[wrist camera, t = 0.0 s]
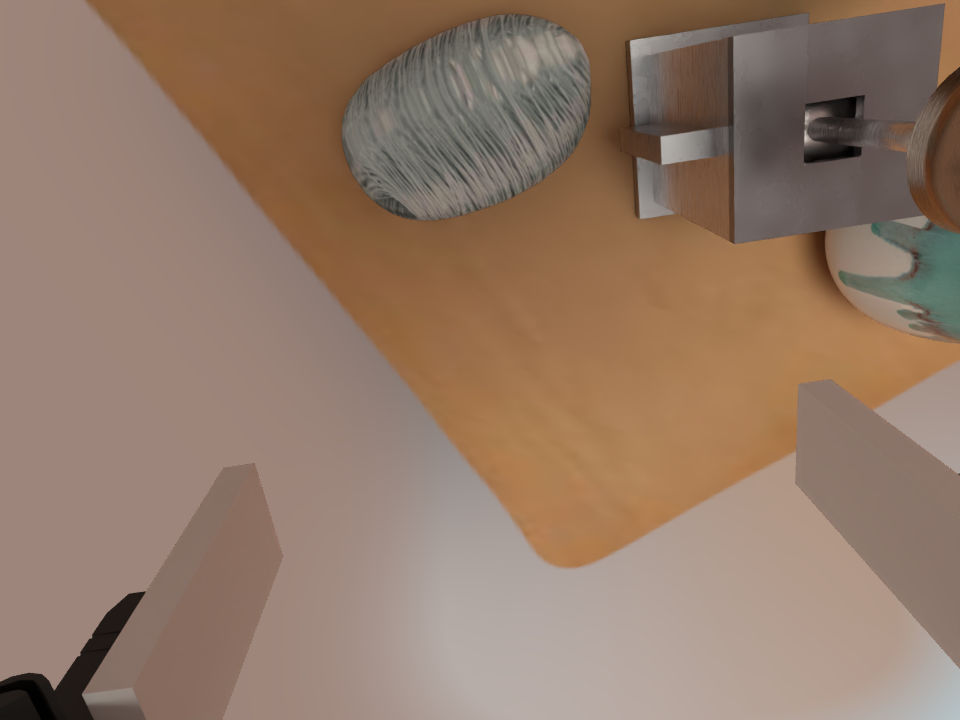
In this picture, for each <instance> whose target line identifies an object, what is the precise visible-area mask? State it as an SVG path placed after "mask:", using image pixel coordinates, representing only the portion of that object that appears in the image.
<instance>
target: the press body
mask: <svg viewBox="0 0 960 720" xmlns="http://www.w3.org/2000/svg"><path fill="white" fill-rule="evenodd" d="M944 9H945V3H944V4H938V5H931V6H925V7H918V8H912V9H905V10H899V11H893V12H886V13H880V14H873V15H867V16H860V17H854V18H848V19H841V20H835V21H828V22H822V23H815V24H809V13H803V14H797V15H790V16H784V17H778V18H771V19H765V20H758V21H752V22H746V23H739V24H733V25H726V26H720V27H713V28H707V29H701V30H694V31H688V32H681V33H675V34H669V35H662V36H656V37H649V38H643V39H636V40H630V41H627V42H626V55H627V72H628V89H629V106H630V123H631V127H628V128H622V129H619V139H620V152H623V153H626V154H629V155H632V157H633V174H634V191H635V208H636V217H638V218H639V219H645V218H651V217H658V216H665V215H671V214H678V215H680V216H682V217H684V218H686V219H687V220H689V221H691V222H693V223H695V224H697V225H699V226H701V227H703V228H705V229H707V230H709V231H711V232H713V233H714V234H716V235H718V236H720V237H722V238H724V239H726V240H728V241H730V242H732V243H734V244H738V243H744V242H751V241H758V240H764V239H771V238H778V237H784V236H791V235H798V234H804V233H811V232H818V231H825V230H831V229H838V228H845V227H851V226H858V225H865V224H871V223H878V222H885V221H891V220H898V219H905V218H911V217H918V216H924V215H923V213H922V212H921V211H920V210H919V208H918V207H917V205H916V204H915V202H914V200H913V198H912V195H911V193H910V190H909V186H908V182H907V175H906V156H907V152H900V151H892V150H883V149H875V148H866V147H858V146H854V153H853V155H851V156H844V157H838V158H831V159H824V160H818V161H811V162H805V163H804V138H805V105H806V104H808V103H815V102H821V101H828V100H834V99H841V98H847V97H854V96H857V100H856V117H855V118H856V119H876V120H897V121H916V120H917V118H918V116H919V114H920V112H921V111H922V109H923V107H924V105H925V104H926V102H927V101H928V99H929V98H930V96H931V95H932V94H933V93H934V92H935V90H936V89H937V81H938V71H939V61H940V50H941V40H942V30H943V19H944Z"/></svg>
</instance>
